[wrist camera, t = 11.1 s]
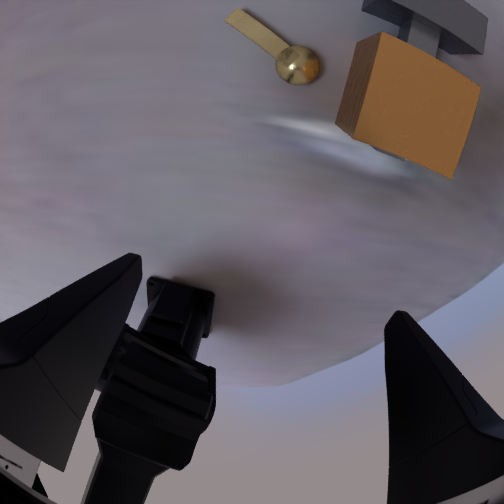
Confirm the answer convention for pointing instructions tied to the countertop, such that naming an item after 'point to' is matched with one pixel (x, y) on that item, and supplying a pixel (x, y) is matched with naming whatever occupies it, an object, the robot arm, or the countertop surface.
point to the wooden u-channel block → (407, 103)
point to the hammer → (433, 26)
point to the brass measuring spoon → (278, 49)
